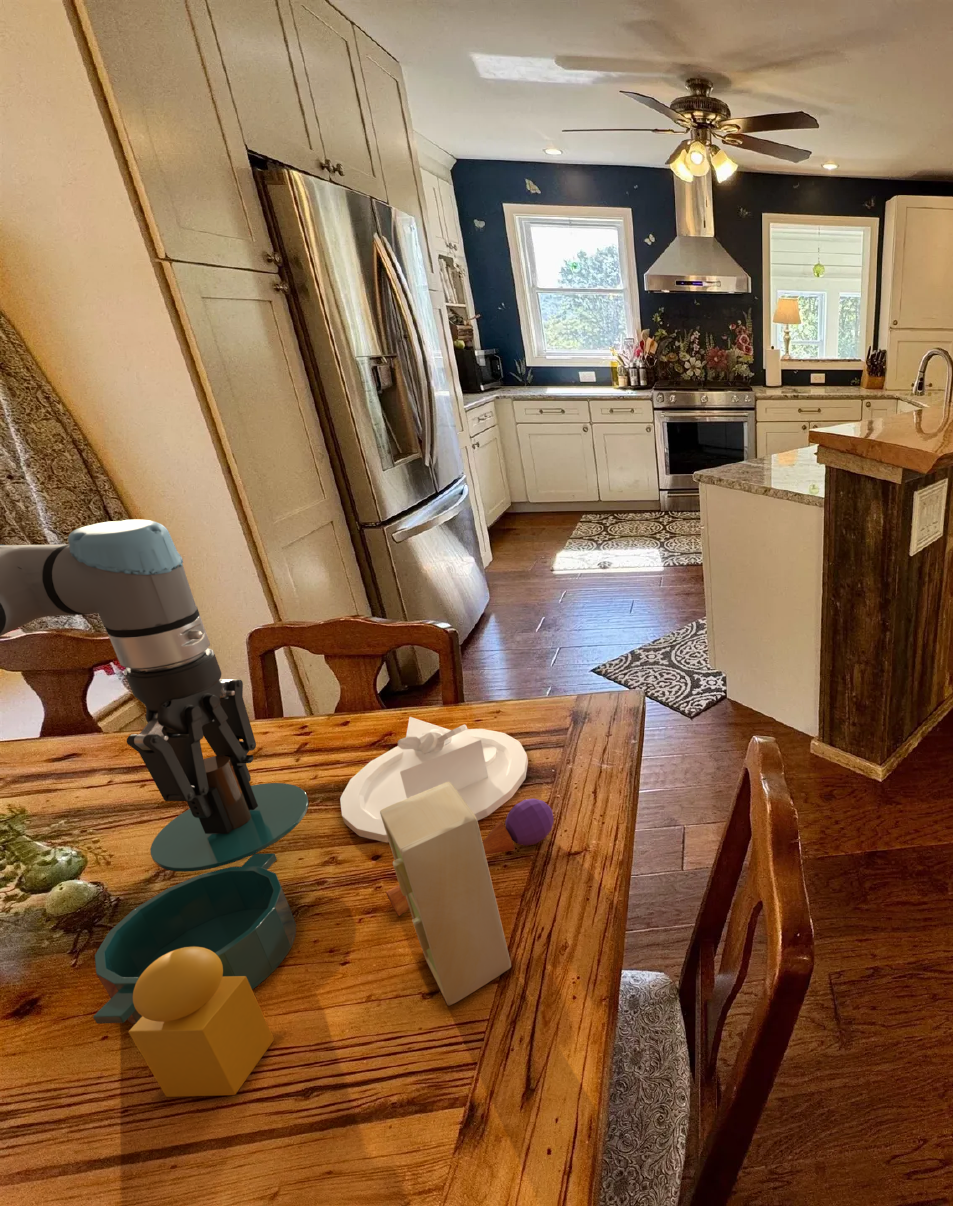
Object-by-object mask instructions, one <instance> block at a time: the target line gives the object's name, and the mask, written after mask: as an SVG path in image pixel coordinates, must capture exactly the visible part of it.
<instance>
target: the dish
mask: <svg viewBox="0 0 953 1206" xmlns="http://www.w3.org/2000/svg"><path fill="white" fill-rule="evenodd" d="M528 766H529V759H528V754H527V752H526V750H525V748H524V747H523V745H522V743H521V741H519V740H517V739H515V738H514V737H512V736H511V735H508V734H507V733H505V732H501V731H496V730H493V729H492V730H491V729H486V728H468V727H467V725H466V723H465V724H462V725H459V726H458V727H455V728H454V729H449V728H446V727H443V726H440V725H436V724H434V723H430V722H427V721H424V720H421V719H418V718H415V717H412V716H409V718H408V723H407V728H406V734H405V737H402V738H400V739H398V740H397V746H395V747H393V748H391V749H390V750H388V751H386V752H384V753H382V754H380V755H379V756H377V757H375V758H373V759H372V760H370V761H369V762H368V763H367V764H366V765H365V766H364V767H362V768H361V769H360V770H358V772H357V773H356V774H355V775H353V776H352V777H351V778H350V779H349V781H348V783H347V785H346V786H345V789H344V790H343V792H342V794H341V796H340V798H339V801H340V811H341V817H342V821H343V823H344V825H346V826H347V827H348V828H349V829H350V830H352V831H353V832H354V833H355V834H356V835H357V836H358V837H361V838H364V839H369V840H374V841H378V842H382V843H389V840H388V837H387V834H386V831H385V827H384V824H383V821H382V818H381V814H380V811H381V810H382V809H384V808H386V807H388V806H390V805H393V804H395V803H397V802H400V801H402V800H405V799H407V798H410V797H412V796H414V795H417V794H419V793H421V792H424V791H426V790H429V789H431V788H434V787H436V786H438V785H441V784H443V783H446V782H450V783H451V784H452V785H453V786H454V787H455V789H456V790H457V792H458V793H459V794H460V796H461V797H462V798H463V800H464V801H465V802H466V804H467V805H468V806H469V808H470V809H471V810H472V812H473V813H474V815H475V817H476V818H477V821H480V820H482V819H485V818H487V817H488V816H490V815H491V814H493V813H494V812H495V811H496V810H497V809H499V808H500V807H502V806H504V804H505V803H507V802H508V801H509V800H510V799H513V797H514V795H515V794H516V792H517V791H518V789H519V788H520V787H521V785H522V784H523V783H524V781H525V780H526V777H527V771H528Z"/></svg>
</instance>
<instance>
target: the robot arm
mask: <svg viewBox="0 0 953 1206" xmlns="http://www.w3.org/2000/svg"><path fill="white" fill-rule="evenodd" d="M67 542H68V543H67V544H63V543H62V544H12V545H11V544H9V545H8V544H0V637H2V636H4V635H6V634H8V633H11V632H12V631H15V630H17V629H19V628H21V627H23V626H25V625H27V624H29V623H31V622H34V621H35V620H38V619H41V618H47V617H61V616H62V617H64V616H83V615H92V614H98V616H99V618H100V621H101V622H102V625H103V627H104V628H105V631H106V633H107V636H108V638H109V641H110V643H111V645H112V647H113V650H114V652H115V655H116V658H117V661H118V662H119V665H120V666H121V667H124V668H125V669H124V671H123V673H124V676H125V679H126V681H127V683H128V685H129V688H130V690H131V692H132V695H133V697H134V698H136V699H137V700H138V701H139V702H141V703H142V704H143V705H144V707H145V711H146V712H145V721H146V722H147V724H145V726H144V727H143V729H142V730H141V731H140V733H138V734H137V733H132V734H130V735H128V736H127V738H126V744H127V745H128V746H129V747H131V748H132V749H133V750H135V751H136V752H138V754H139V756H140V758H141V759H142V761H143V763H144V765H145V767H146V769H147V771H148V772H149V775H150V776H151V778H152V780H153V781H154V783H155V786H156V788H157V790H158V792H159V794H160V795H161V797H162V799H163V800H164V801H165V802H186V803H187V805H188V807H189V808H188V809H190V810H191V813H192V815H193V816H194V817H195V818H199V820H200V822H201V825H202V827H203V830H204V832H205V834H228V833H229V832H230V831H232V830H233V829H232V826H231V824H230V821H229V819H228V816H227V814H226V811H225V808H224V806H223V803H222V801H221V798H220V796H219V793H218V791H217V788H209V787H208V781H207V776H206V771H205V765H204V756H203V750H202V744H201V740H202V739H203V738H204V739H205V740H206V742H207V744H208V745H209V747H210V748H211V750H212V752H213V753H214V754H215V756H219V755H225V756H228V757H229V758H230V760H231V762H232V765H233V768H234V770H235V773H236V776H237V778H238V781H239V784H240V786H241V789H242V792H243V794H244V797H245V800H246V802H247V805H248V808H249V810H254V809H255V808H257V807H258V804H257V802H256V799H255V796H254V794H253V791H252V788H251V786H252V785H251V783H250V782H251V781H252V777H251V774H250V771H249V767H248V764H251V763H253V761H254V755H253V754H249V752H251V751H254V750H255V749H256V747H257V742H256V739H255V735H254V732H253V728H252V725H251V721H250V718H249V714H248V711H247V707H246V704H245V701H244V697H243V693H244V682H243V681H242V679H232V678H231V679H230V678H229V679H227V678H226V679H223V678H222V669H221V668H220V665H219V662H218V659H217V656H216V653H215V651H214V650H213V649H212V648H210V647H211V641H210V639H209V636H208V633H207V631H206V627H205V624H204V623H203V619H202V616H201V614H200V611H199V609H198V606H197V605H196V601H195V598H194V595H193V592H192V590H191V589H192V588H191V587H190V583H189V580H188V577H187V573H186V571H185V567H184V564H183V563H184V560H183V557H182V555H181V554H180V553H179V552H178V550H177V547H176V545H175V543H174V541H173V538H172V536H171V533H170V531H169V530H168V528H167V527H166V526H165V525H163V524H162V523H160V522H157V521H155V520H150V519H123V520H116V521H115V520H113V521H110V520H109V521H104V522H97V523H92V524H87V525H85V526H81V527H78V528H76V529H74V530H73V531H71V532H70V533H69V535H68V536H67Z"/></svg>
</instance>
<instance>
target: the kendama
mask: <svg viewBox="0 0 953 1206" xmlns="http://www.w3.org/2000/svg"><path fill="white" fill-rule="evenodd" d="M554 822H555V819H554V813H553V809H552V807H551V806H550V805H549V804H548V803H546V802H545V801H544V800H541V799H539V798H538V799H537V798H527V799H523V800H522V801H520V802H518V803H516V804H515V805H514V806H513V807H512V808H511V809H510V811H509V812H508V813H507V815H506V818H505V821H504V824H505V825H504V824H503V823H502V822H501V821H498V822H497V823H496V825H495V826H494V827H493V829H491V831H490V832H489V833H488V835H487V836H486V837H485V838H484V840H482V842H483V847H484V851H485V855H492V854H493V855H494V854H499V853H506V852H511V851H514V850H515V844H516V845H520V846H525V847H527V846H533V845H537V844H538V843H540V842H541V841H542V840H545V839H546V838H547V836H548V835H549V834H550V832H552V828H553V826H554ZM514 843H515V844H514ZM385 894H386V896H387V898H388V900H389V902H390V904H391V907H392V908H393V909H394V912H395V913H396V915H397V916H398V917H400V916H402V914H404V913H406V912H407V911H408V910H410V908H409V905H408V902H407V899H406V896H403V894H402V892H401V889H400V885H399V884H398V885H396V886H394V887H392V888H389V889H388V890H386V891H385Z"/></svg>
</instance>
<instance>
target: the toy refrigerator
mask: <svg viewBox="0 0 953 1206" xmlns="http://www.w3.org/2000/svg"><path fill="white" fill-rule="evenodd" d="M380 814H381V818H382V821H383V824H384V827H385V831H386V834H387V837H388V840H389V842H388V843H389V846H390V849H391V853H392V856H393V859H394V860H392V866H393V869H394V873H395V875H396V879H397V882H398V885H400V889H401V892H402V894H403V896H406V899H407V902H408V905H409V912H410V915H411V918H412V920H411V921H412V925H413V927H414V930H415V933H416V937H417V940H418V942H419V945H420V948H421V950H422V953H423V956H424V959H425V961H426V963H427V965H428V968H429V970H430V972H431V974H432V976H433V978H434V980H435V982H436V984H437V987H438V988H439V990H440V992H441V995H442V997H443V999H444V1002H445V1003H446V1005H447V1006H452V1005H454V1004H457V1003H459V1002H460V1001H461V1000H463V999H464V998H467V997H468V996H469V995H471V994H472V993H474V992H476V991H477V990H479V989H481V988H482V987H484V986H485V985H487V984H488V983H490V982H491V981H493V980H495V979H497V978H498V977H500V976H501V975H503V974H504V973H505V972H507V971H508V970H510V969H511V968H512V962H511V957H510V954H509V950H508V946H507V945H508V944H507V940H506V937H505V933H504V928H503V924H502V920H501V915H500V911H499V905H498V902H497V898H496V894H495V890H494V886H493V881H492V877H491V872H490V867H489V865H488V860H487V856H486V855H485V851H484V847H483V838H482V834H481V830H480V826H479V822H478V821H479V820H478V821H477V818H476V817H475V815H474V813H473V812H472V810H471V809H470V808H469V806H468V805H467V804H466V802H465V801H464V800H463V798H462V797H461V796H460V794H459V793H458V792H457V790H456V789H455V787H454V786H453V785H452V784H451V783H450V782H446V783H443V784H441V785H438V786H436V787H434V788H431V789H429V790H426V791H424V792H421V793H419V794H417V795H414V796H412V797H410V798H407V799H405V800H402V801H400V802H397V803H395V804H393V805H390V806H388V807H386V808H384V809H382V810H381V811H380Z"/></svg>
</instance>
